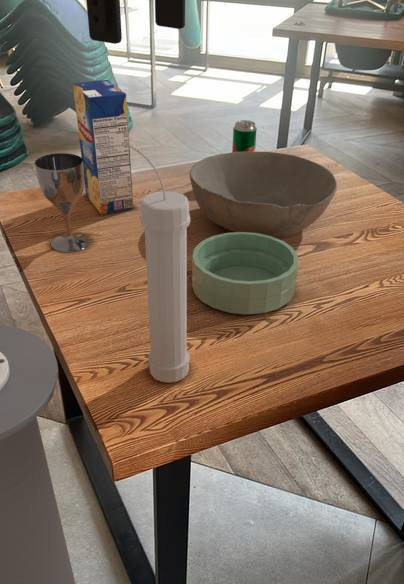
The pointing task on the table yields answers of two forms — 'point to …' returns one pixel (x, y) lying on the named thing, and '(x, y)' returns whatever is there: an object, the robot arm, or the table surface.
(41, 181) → the wine glass
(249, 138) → the soda can
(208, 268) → the green round dish
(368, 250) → the table surface
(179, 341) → the pipe
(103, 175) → the cereal box
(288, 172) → the bowl
